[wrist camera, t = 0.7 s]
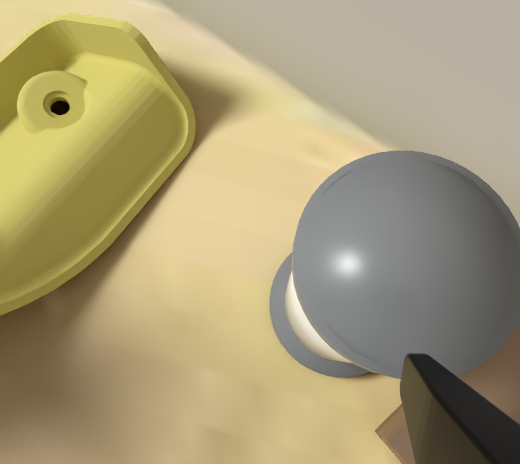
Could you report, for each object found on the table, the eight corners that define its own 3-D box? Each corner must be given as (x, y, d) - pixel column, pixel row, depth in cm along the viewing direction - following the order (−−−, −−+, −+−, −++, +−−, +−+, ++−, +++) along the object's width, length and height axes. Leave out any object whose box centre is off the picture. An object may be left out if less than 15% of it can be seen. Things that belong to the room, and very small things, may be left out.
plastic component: (52, 11, 27) (147, 23, 22) (120, 100, 33) (210, 128, 28) (-225, 258, 22) (-193, 360, 16) (-85, 314, 28) (-25, 404, 22)
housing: (433, 312, 24) (612, 271, 12) (334, 407, 23) (414, 475, 10) (339, 214, 26) (407, 85, 13) (242, 298, 25) (215, 244, 12)
